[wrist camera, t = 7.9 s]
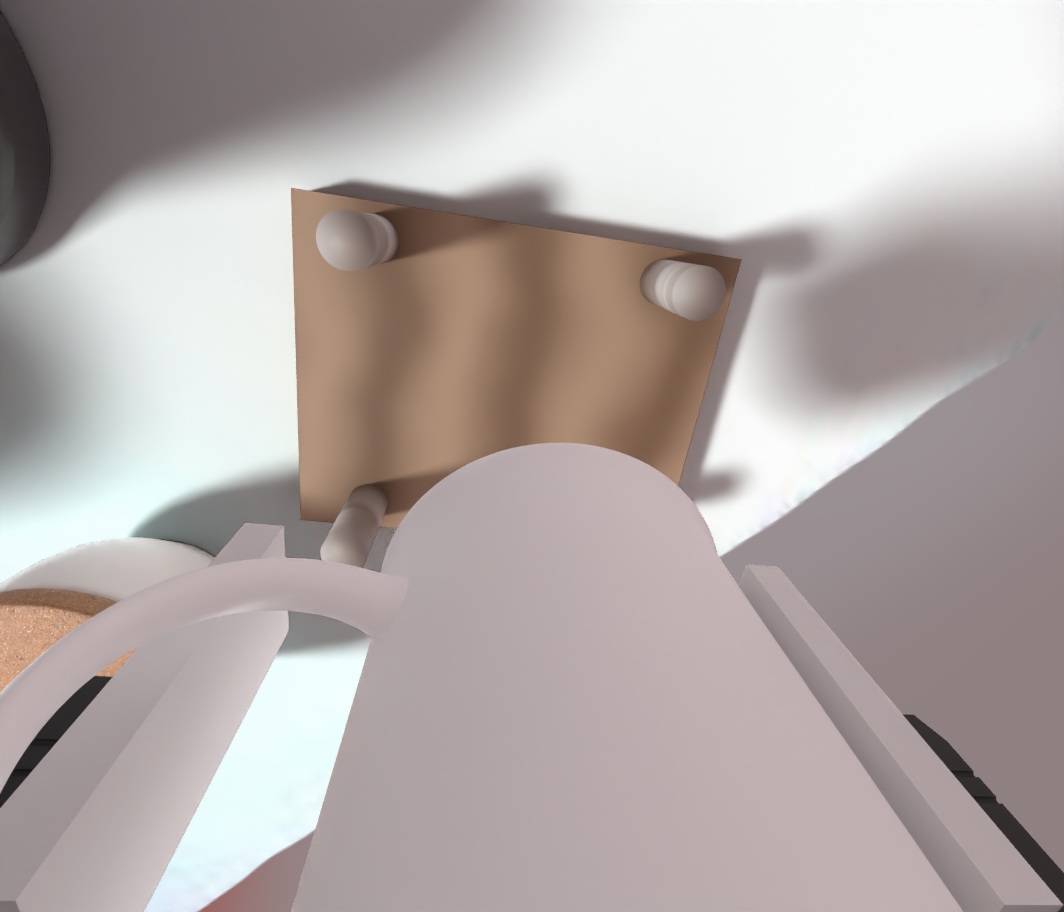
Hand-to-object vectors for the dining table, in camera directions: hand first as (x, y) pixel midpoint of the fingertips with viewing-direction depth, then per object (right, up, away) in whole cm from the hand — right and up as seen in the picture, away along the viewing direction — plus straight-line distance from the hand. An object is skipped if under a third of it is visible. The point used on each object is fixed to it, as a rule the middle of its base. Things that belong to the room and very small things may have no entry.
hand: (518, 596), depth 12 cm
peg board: (-1, +7, +16) cm, 18 cm away
